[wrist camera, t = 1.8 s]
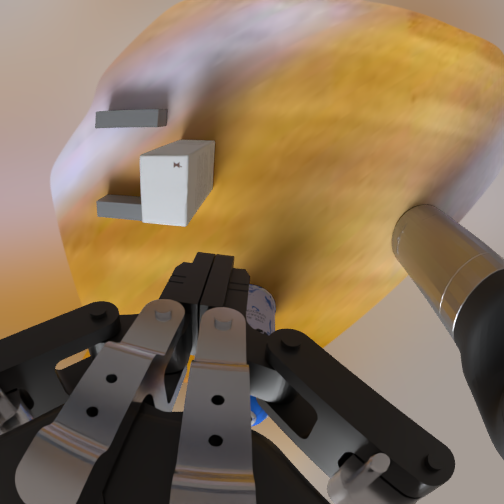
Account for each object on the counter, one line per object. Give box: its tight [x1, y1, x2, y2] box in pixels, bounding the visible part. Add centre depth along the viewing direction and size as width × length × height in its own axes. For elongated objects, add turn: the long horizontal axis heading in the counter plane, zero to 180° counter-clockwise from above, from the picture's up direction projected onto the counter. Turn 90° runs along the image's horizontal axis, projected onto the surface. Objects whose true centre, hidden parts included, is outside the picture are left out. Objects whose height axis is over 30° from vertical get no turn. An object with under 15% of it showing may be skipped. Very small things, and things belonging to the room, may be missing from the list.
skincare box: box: [140, 140, 215, 227], centre depth 28 cm, size 6×4×12 cm
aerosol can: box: [246, 284, 276, 426], centre depth 33 cm, size 8×8×20 cm
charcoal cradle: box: [95, 109, 167, 221], centre depth 32 cm, size 8×13×3 cm, turn 174°
